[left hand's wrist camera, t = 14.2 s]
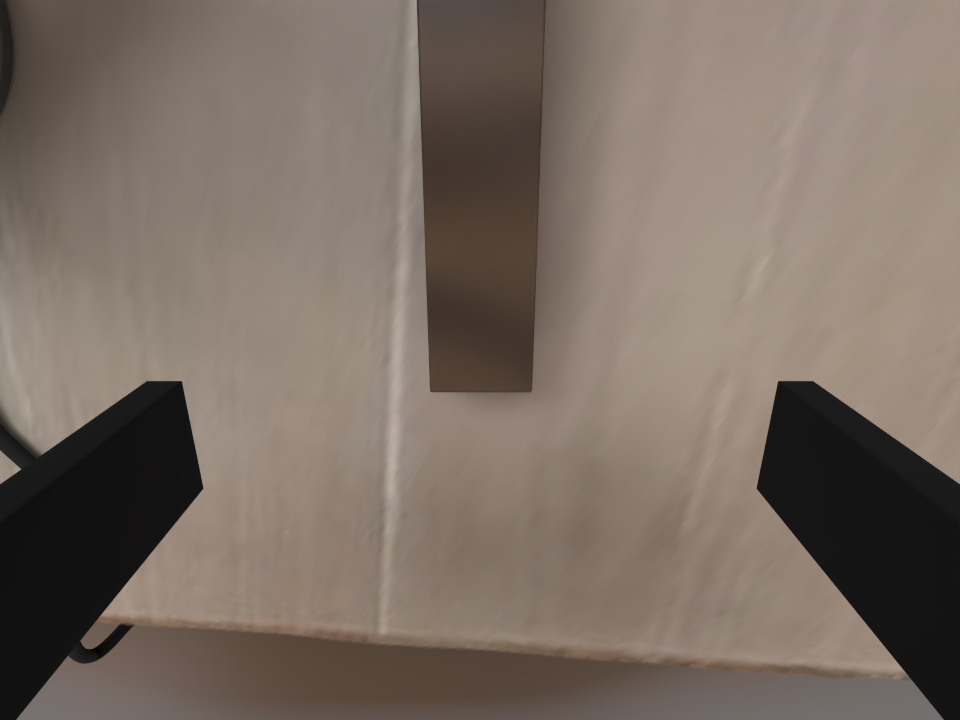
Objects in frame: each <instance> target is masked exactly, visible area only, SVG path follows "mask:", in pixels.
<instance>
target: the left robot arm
mask: <svg viewBox="0 0 960 720" xmlns="http://www.w3.org/2000/svg"><path fill="white" fill-rule="evenodd" d="M11 65H12V42H11V32H10V25H9V20H8V14H7V10H6V6H5V2H4V0H0V110H1V108H2V106H3V103H4V101H5V97H6V94H7V91H8V87H9V81H10V76H11ZM0 450H1V451H2V452H3V453H4V454H5V455H6V456H7V457H8V458H10V459H11V460H12V461H13V462H14V463H15V464H16V465H17V466H18V467H20V468H21V470H20V471H19V472H17V473H16V474H14V475H13V476H11V477H10V478H9V479H7V480H6V481H4V482H3V483H1V484H0V720H16V719H17V718H18V717H19V715H20V714H21V713H22V712H23V710H24V709H25V708H26V707H27V705H28V704H29V703H30V702H31V701H32V699H33V698H34V697H35V696H36V694H37V693H38V692H39V691H40V689H41V688H42V687H43V686H44V685H45V683H46V682H47V681H48V680H49V678H50V677H51V676H52V675H53V673H54V672H55V671H56V670H57V668H58V667H59V666H60V665H61V664H62V662H63V661H64V660H65V659H66V657H67V656H69V657H70V658H71V659H73V660H74V661H76V662H79V663H85V664H86V663H91V662H94V661H97V660H99V659H101V658H102V657H104V656H105V655H106V654H107V653H108V652H110V651H111V650H112V649H113V648H114V647H115V646H116V645H117V643H118V642H119V641H120V640H121V639H122V638H123V637H124V636H125V635H126V633H127V632H128V631H129V630H130V629H131V628H132V627H133V626H134V625H135V624H125V623H120V624H119V625H118V627H117V628H116V629H115V630H114V631H113V632H112V633H111V634H110V635H109V636H108V637H107V638H106V639H105V640H104V641H103V642H102V643H101V644H99V645H98V646H97V647H95V648H93V649H86V648H84V647H83V645H82V644H81V641H80V640H81V639H82V638H83V636H84V635H85V634H86V633H87V631H88V630H89V629H90V628H91V626H92V625H93V624H94V623H95V622H96V620H97V619H98V618H99V617H100V615H101V614H102V613H103V612H104V610H105V609H106V608H107V607H108V606H109V604H110V603H111V602H112V601H113V599H114V598H115V597H116V596H117V594H118V593H119V592H120V591H121V590H122V588H123V587H124V586H125V585H126V583H127V582H128V581H129V580H130V578H131V577H132V576H133V575H134V573H135V572H136V571H137V570H138V569H139V567H140V566H141V565H142V564H143V562H144V561H145V560H146V559H147V557H148V556H149V555H150V554H151V552H152V551H153V550H154V549H155V548H156V546H157V545H158V544H159V543H160V541H161V540H162V539H163V538H164V536H165V535H166V534H167V533H168V532H169V530H170V529H171V528H172V527H173V525H174V524H175V523H176V522H177V520H178V519H179V518H180V517H181V515H182V514H183V513H184V512H185V511H186V509H187V508H188V507H189V506H190V504H191V503H192V502H193V501H194V499H195V498H196V497H197V496H198V495H199V493H200V492H201V491H202V490H203V484H202V479H201V474H200V469H199V464H198V459H197V454H196V450H195V445H194V440H193V435H192V430H191V425H190V420H189V415H188V410H187V405H186V400H185V395H184V390H183V385H182V381H147V382H145V383H144V384H142V385H141V386H140V387H138V388H137V389H135V390H134V391H132V392H131V393H130V394H128V395H127V396H125V397H124V398H122V399H121V400H120V401H118V402H117V403H115V404H114V405H112V406H111V407H110V408H108V409H107V410H105V411H104V412H103V413H101V414H100V415H98V416H97V417H95V418H94V419H93V420H91V421H90V422H88V423H87V424H85V425H84V426H83V427H81V428H80V429H78V430H77V431H75V432H74V433H73V434H71V435H70V436H68V437H67V438H66V439H64V440H63V441H61V442H60V443H58V444H57V445H56V446H54V447H53V448H51V449H50V450H48V451H47V452H46V453H44V454H43V455H41V456H40V457H38V458H37V459H36V458H35V457H34V456H33V455H32V454H31V453H30V452H29V451H27V450H26V449H25V448H24V447H23V446H22V445H21V444H20V443H19V442H18V441H17V440H16V439H14V438H13V437H12V436H11V435H10V434H9V433H8V431H7V430H6V429H5V428H4V427H3V426H2V425H1V424H0ZM757 490H758V491H759V492H760V493H761V495H762V496H763V497H764V498H765V499H766V501H767V502H768V503H769V504H770V506H771V507H772V508H773V509H774V511H775V512H776V513H777V514H778V515H779V517H780V518H781V519H782V520H783V522H784V523H785V524H786V525H787V527H788V528H789V529H790V530H791V532H792V533H793V534H794V535H795V536H796V538H797V539H798V540H799V541H800V543H801V544H802V545H803V546H804V548H805V549H806V550H807V551H808V552H809V554H810V555H811V556H812V557H813V559H814V560H815V561H816V562H817V564H818V565H819V566H820V567H821V569H822V570H823V571H824V572H825V573H826V575H827V576H828V577H829V578H830V580H831V581H832V582H833V583H834V585H835V586H836V587H837V588H838V590H839V591H840V592H841V593H842V594H843V596H844V597H845V598H846V599H847V601H848V602H849V603H850V604H851V606H852V607H853V608H854V609H855V610H856V612H857V613H858V614H859V615H860V617H861V618H862V619H863V620H864V622H865V623H866V624H867V625H868V627H869V628H870V629H871V630H872V631H873V633H874V634H875V635H876V636H877V638H878V639H879V640H880V641H881V643H882V644H883V645H884V646H885V647H886V649H887V650H888V651H889V652H890V654H891V655H892V656H893V657H894V659H895V660H896V661H897V662H898V664H899V665H900V666H901V667H902V668H903V670H904V671H905V672H906V673H907V675H908V676H909V677H910V678H911V680H912V681H913V682H914V683H915V685H916V686H917V687H918V688H919V689H920V691H921V692H922V693H923V694H924V696H925V697H926V698H927V699H928V700H929V702H930V703H931V704H932V705H933V707H934V708H935V709H936V710H937V712H938V713H939V714H940V715H941V717H942V718H943V719H944V720H960V484H959V483H957V482H956V481H954V480H953V479H951V478H950V477H949V476H947V475H946V474H944V473H943V472H941V471H940V470H939V469H937V468H936V467H934V466H933V465H931V464H930V463H929V462H927V461H926V460H924V459H923V458H922V457H920V456H919V455H917V454H916V453H914V452H913V451H912V450H910V449H909V448H907V447H906V446H904V445H903V444H902V443H900V442H899V441H897V440H896V439H894V438H893V437H892V436H890V435H889V434H887V433H886V432H885V431H883V430H882V429H880V428H879V427H877V426H876V425H875V424H873V423H872V422H870V421H869V420H867V419H866V418H865V417H863V416H862V415H860V414H859V413H857V412H856V411H855V410H853V409H852V408H850V407H849V406H848V405H846V404H845V403H843V402H842V401H840V400H839V399H838V398H836V397H835V396H833V395H832V394H830V393H829V392H828V391H826V390H825V389H823V388H822V387H820V386H819V385H818V384H816V383H815V382H813V381H778V385H777V390H776V395H775V400H774V405H773V410H772V415H771V420H770V425H769V430H768V435H767V440H766V445H765V449H764V454H763V459H762V464H761V469H760V474H759V479H758V484H757Z"/></svg>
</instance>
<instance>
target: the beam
mask: <svg viewBox="0 0 960 720" xmlns="http://www.w3.org/2000/svg"><path fill="white" fill-rule="evenodd" d="M545 6H546V0H417V18H418V48H419V77H420V107H421V137H422V166H423V196H424V225H425V255H426V285H427V314H428V344H429V373H430V391H431V392H531V391H532V373H533V345H534V317H535V288H536V260H537V232H538V204H539V175H540V147H541V119H542V91H543V62H544V34H545Z"/></svg>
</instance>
